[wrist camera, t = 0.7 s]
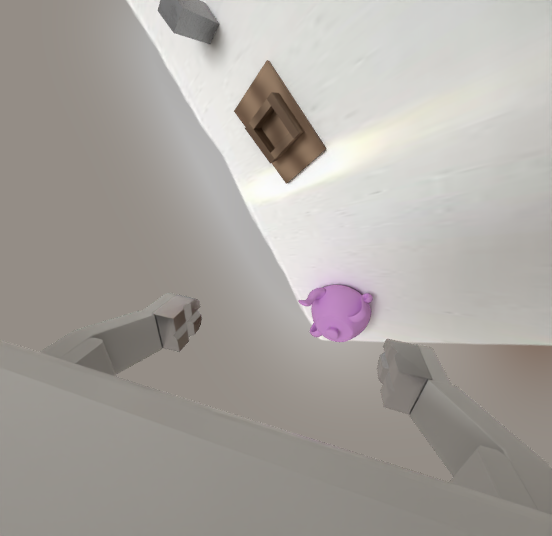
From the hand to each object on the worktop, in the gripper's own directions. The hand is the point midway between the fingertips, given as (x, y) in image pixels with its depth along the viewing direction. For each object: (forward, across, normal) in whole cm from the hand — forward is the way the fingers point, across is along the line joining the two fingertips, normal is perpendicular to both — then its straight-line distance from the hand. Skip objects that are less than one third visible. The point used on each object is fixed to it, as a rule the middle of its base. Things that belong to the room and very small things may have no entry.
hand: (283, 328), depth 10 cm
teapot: (+54, -7, +31) cm, 63 cm away
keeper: (+49, +13, -13) cm, 53 cm away
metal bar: (+49, +29, -31) cm, 65 cm away
